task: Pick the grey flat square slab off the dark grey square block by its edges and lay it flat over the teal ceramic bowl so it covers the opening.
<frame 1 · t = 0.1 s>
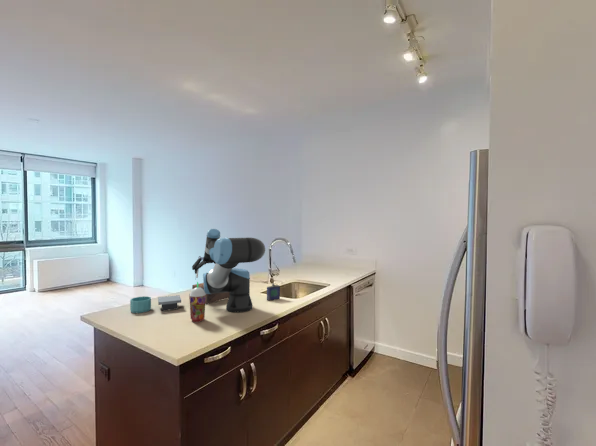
hand: (207, 275, 200), 15 cm above the worktop, tool tilted 35°, fingers open, 13 cm apart
smoothie: (197, 320, 160), on the worktop
grey flat square slab: (169, 301, 181), point 4 cm above the worktop, touching dark grey square block
bowl: (140, 310, 176), on the worktop
dark grey square block: (169, 307, 181), on the worktop
tissue box cover: (215, 298, 204), on the worktop
blue box: (273, 300, 200), on the worktop
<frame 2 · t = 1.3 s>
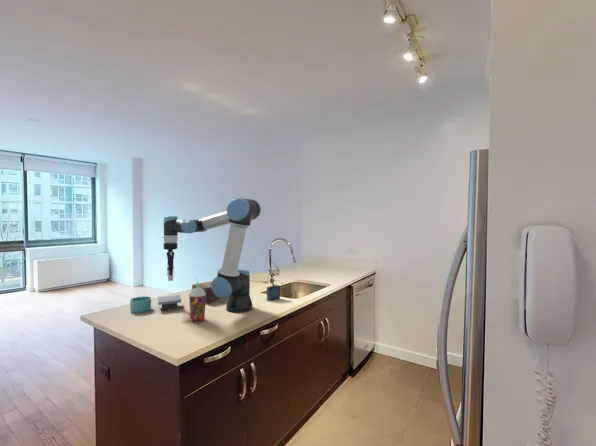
hand: (170, 278, 181), 17 cm above the worktop, tool pointing down, fingers open, 13 cm apart
nothing on the worktop moved.
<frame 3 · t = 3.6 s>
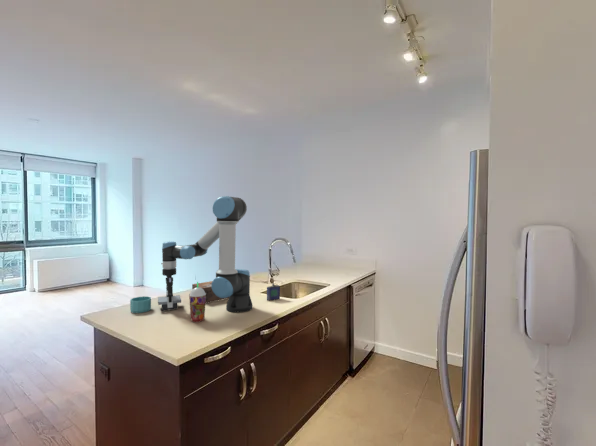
hand: (169, 304, 181), 2 cm above the worktop, tool pointing down, fingers closed on grey flat square slab, 12 cm apart
grey flat square slab: (169, 301, 181), point 4 cm above the worktop, touching gripper, dark grey square block
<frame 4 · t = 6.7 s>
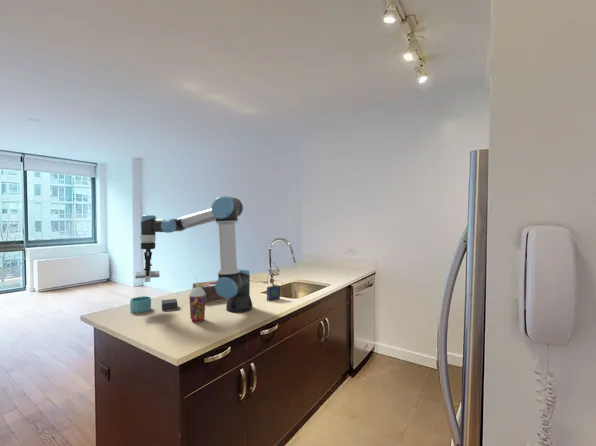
hand: (147, 279, 177), 17 cm above the worktop, tool pointing down, fingers closed on grey flat square slab, 12 cm apart
grey flat square slab: (147, 275, 177), point 19 cm above the worktop, touching gripper
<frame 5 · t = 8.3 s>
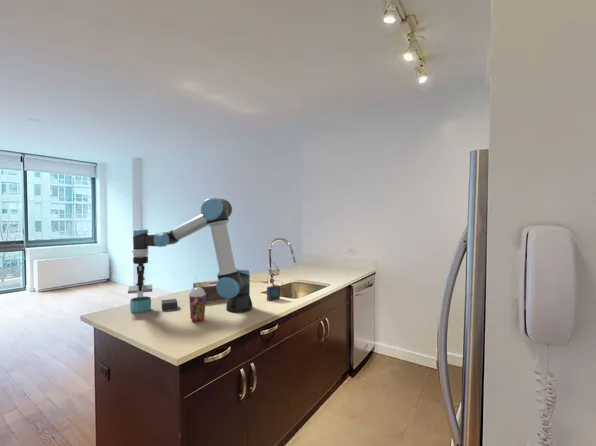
hand: (140, 294, 176), 9 cm above the worktop, tool pointing down, fingers closed on grey flat square slab, 12 cm apart
grey flat square slab: (140, 290, 176), point 11 cm above the worktop, touching gripper
when the fingers open (7 cm above the worktop, at t = 9.7 s): grey flat square slab drops 3 cm, resting on bowl.
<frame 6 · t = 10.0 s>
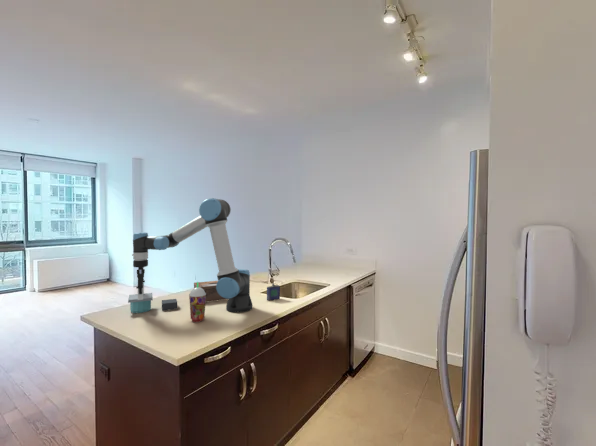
hand: (140, 296, 176), 8 cm above the worktop, tool pointing down, fingers open, 13 cm apart
grey flat square slab: (140, 298, 176), point 6 cm above the worktop, touching bowl
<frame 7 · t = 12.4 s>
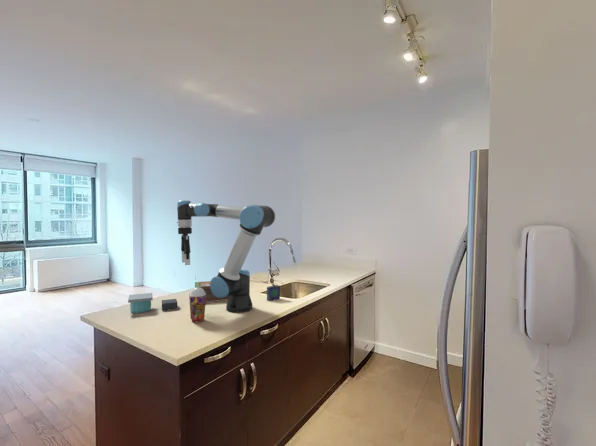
hand: (185, 263, 179), 26 cm above the worktop, tool pointing down, fingers open, 13 cm apart
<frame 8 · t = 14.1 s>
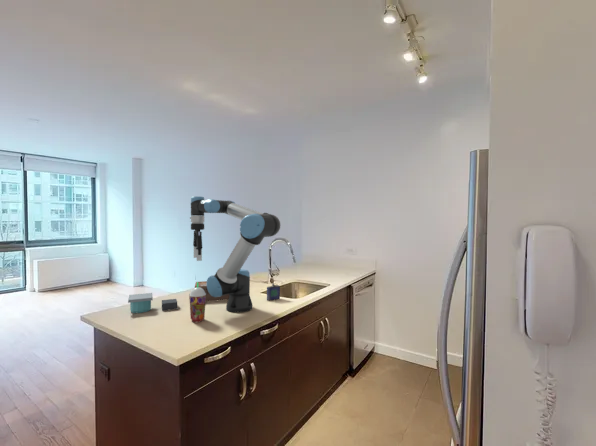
hand: (197, 259, 181), 29 cm above the worktop, tool pointing down, fingers open, 13 cm apart
at the end: grey flat square slab 0.0 cm off-centre on the bowl, point 6.5 cm above the bowl's base; grey flat square slab tilted 0°; grey flat square slab touching bowl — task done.
